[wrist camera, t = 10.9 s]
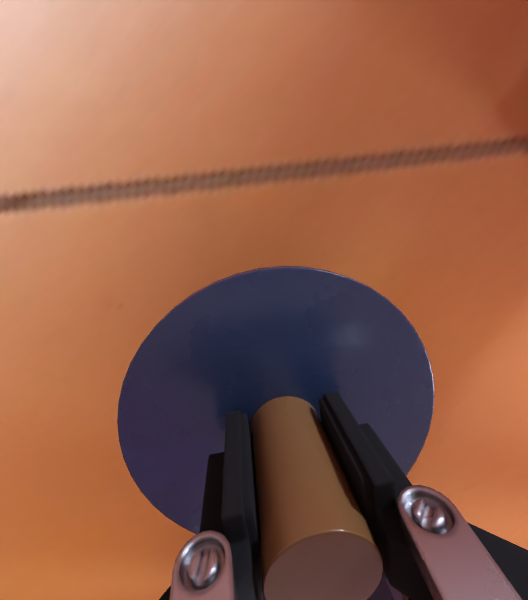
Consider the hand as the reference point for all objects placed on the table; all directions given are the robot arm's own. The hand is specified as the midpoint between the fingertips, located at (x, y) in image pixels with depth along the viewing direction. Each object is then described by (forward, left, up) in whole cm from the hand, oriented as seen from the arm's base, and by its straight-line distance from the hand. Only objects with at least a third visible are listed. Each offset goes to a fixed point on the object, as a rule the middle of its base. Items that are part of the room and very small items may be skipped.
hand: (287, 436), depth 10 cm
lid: (0, 0, -1) cm, 1 cm away
